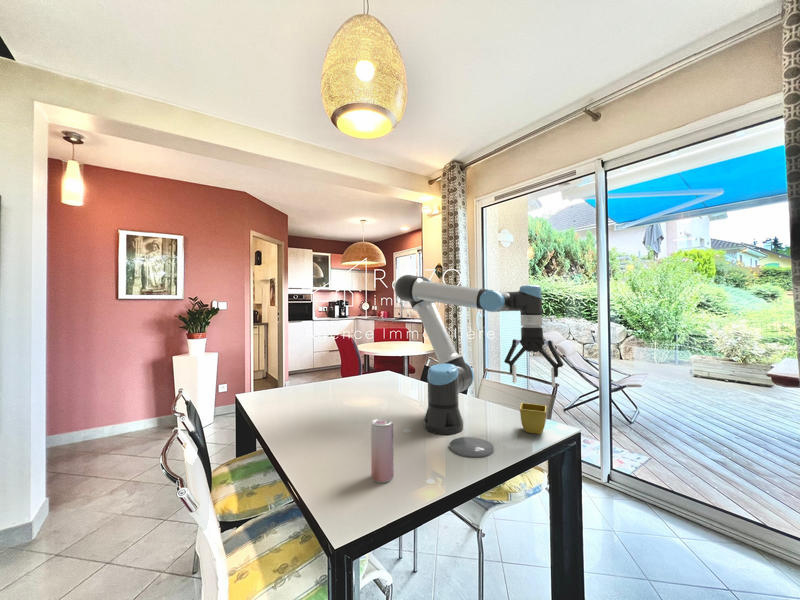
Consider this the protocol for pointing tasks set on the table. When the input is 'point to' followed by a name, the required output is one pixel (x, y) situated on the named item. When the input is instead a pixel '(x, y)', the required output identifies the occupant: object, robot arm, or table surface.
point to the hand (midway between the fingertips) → (533, 384)
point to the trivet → (471, 447)
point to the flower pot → (533, 417)
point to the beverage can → (382, 450)
